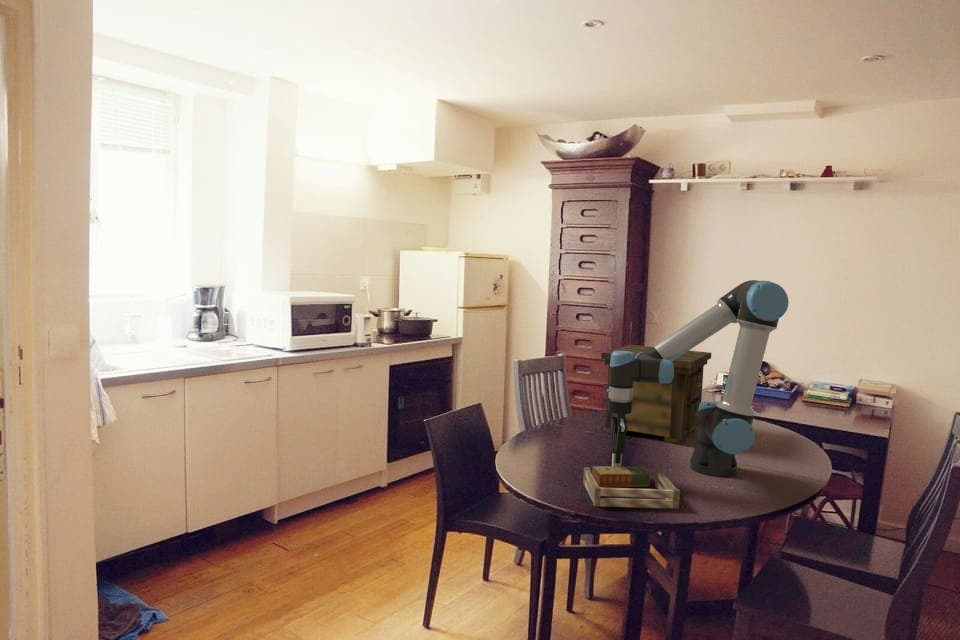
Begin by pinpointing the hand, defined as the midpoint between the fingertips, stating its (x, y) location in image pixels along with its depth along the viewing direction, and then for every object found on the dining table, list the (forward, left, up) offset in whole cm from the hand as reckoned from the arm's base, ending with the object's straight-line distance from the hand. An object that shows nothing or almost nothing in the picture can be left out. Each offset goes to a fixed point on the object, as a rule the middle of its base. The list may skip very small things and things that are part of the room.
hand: (616, 472), depth 204 cm
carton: (0, +5, -2) cm, 5 cm away
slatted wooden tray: (0, +17, -2) cm, 17 cm away
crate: (-28, -58, -2) cm, 65 cm away
